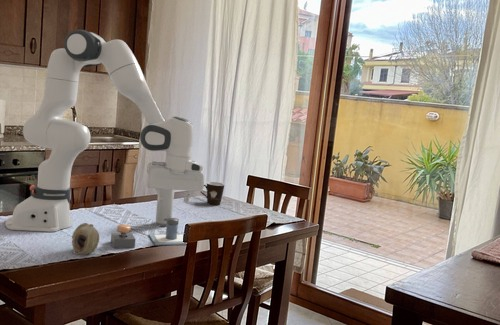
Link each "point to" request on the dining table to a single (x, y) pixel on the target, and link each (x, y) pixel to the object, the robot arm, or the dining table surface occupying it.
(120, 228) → the button
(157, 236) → the board
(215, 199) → the coffee mug
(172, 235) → the blue gray capped jar
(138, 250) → the dining table surface
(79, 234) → the beige rounded piece
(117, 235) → the button housing
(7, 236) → the dining table surface
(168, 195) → the travel mug
